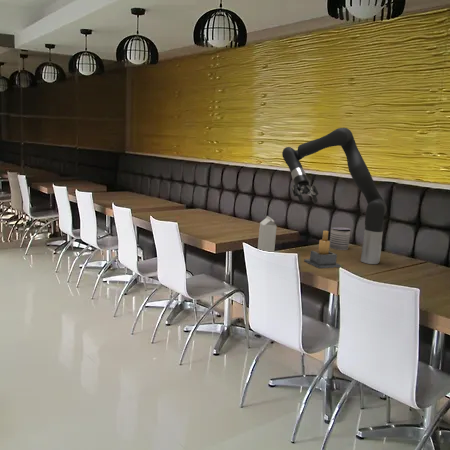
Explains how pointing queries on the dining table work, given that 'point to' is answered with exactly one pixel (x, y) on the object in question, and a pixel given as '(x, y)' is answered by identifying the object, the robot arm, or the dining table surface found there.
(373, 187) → the robot arm
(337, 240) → the can
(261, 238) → the milk carton
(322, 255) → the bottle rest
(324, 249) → the amber bottle
